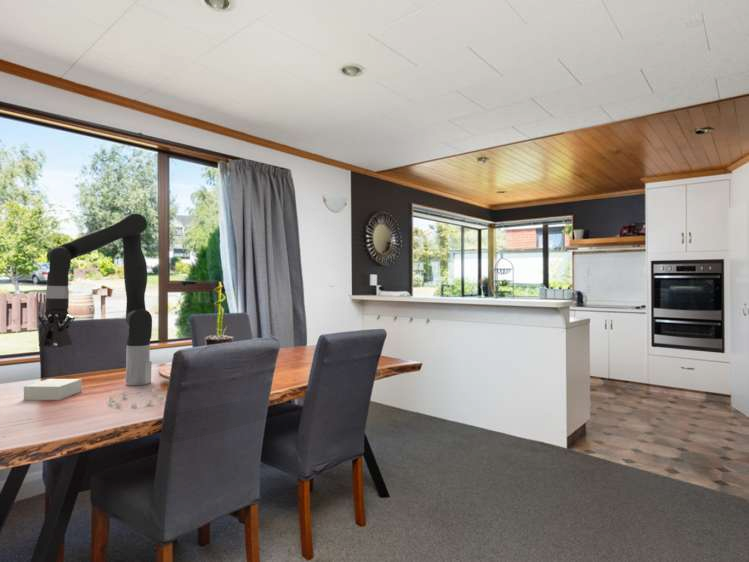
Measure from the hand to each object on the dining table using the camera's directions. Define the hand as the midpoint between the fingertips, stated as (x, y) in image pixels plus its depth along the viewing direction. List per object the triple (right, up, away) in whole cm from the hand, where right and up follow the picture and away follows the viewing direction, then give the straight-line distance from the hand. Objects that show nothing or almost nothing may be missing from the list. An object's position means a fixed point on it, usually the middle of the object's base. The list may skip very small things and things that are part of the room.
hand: (55, 340), depth 180 cm
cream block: (0, -21, -1) cm, 21 cm away
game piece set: (+36, -23, -8) cm, 44 cm away
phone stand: (0, -2, 0) cm, 2 cm away
